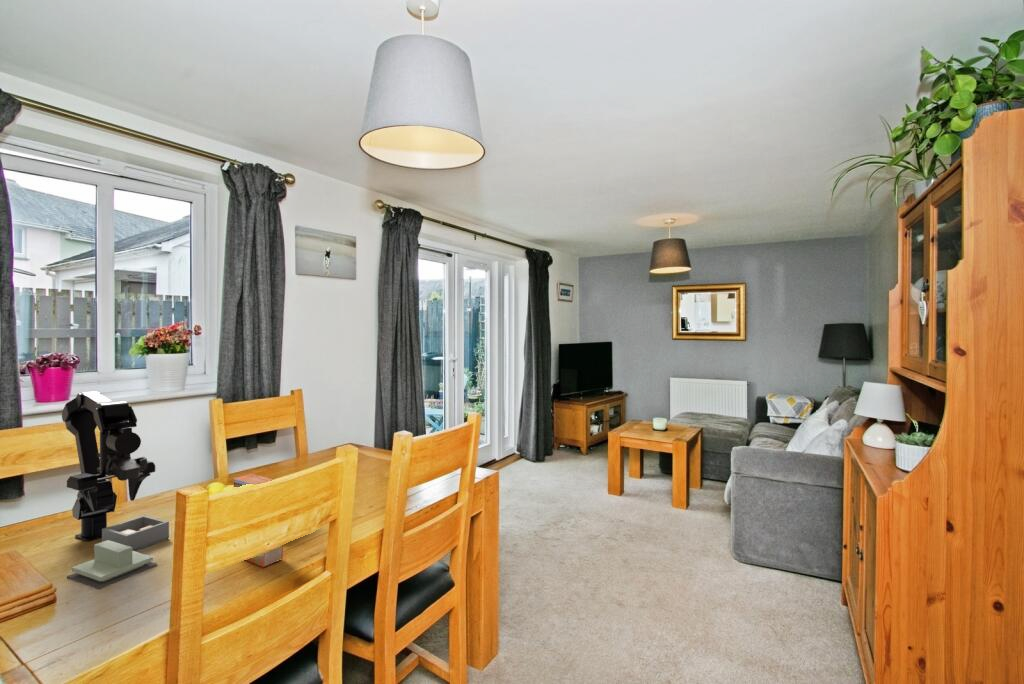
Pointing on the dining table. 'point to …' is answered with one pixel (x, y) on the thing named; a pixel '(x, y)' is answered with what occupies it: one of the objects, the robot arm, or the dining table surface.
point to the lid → (111, 561)
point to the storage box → (138, 532)
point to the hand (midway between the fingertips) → (113, 505)
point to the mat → (102, 584)
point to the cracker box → (272, 554)
